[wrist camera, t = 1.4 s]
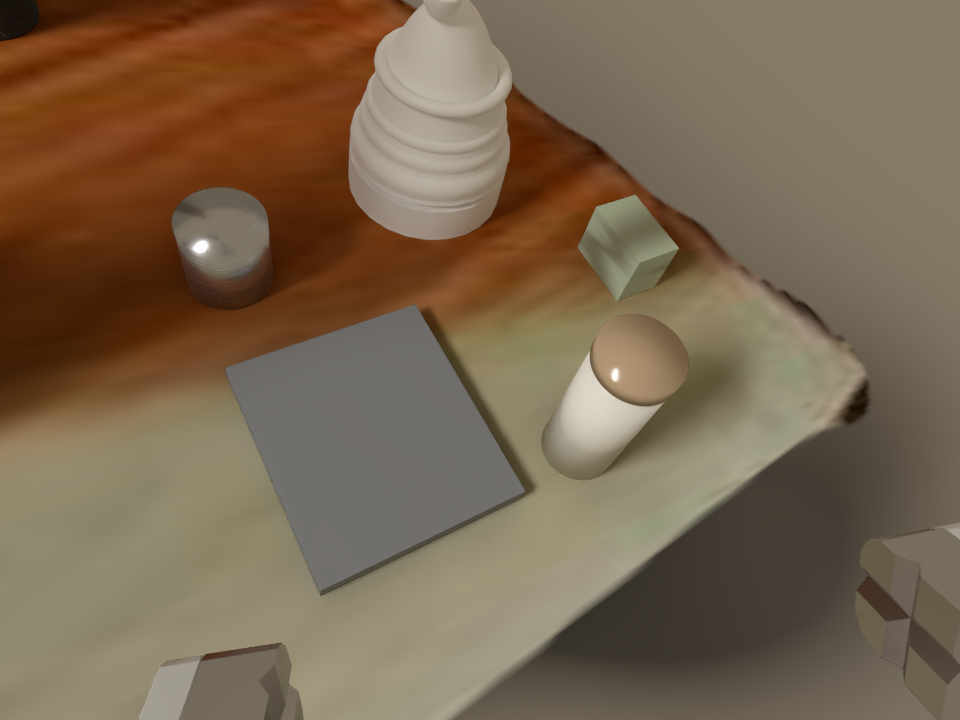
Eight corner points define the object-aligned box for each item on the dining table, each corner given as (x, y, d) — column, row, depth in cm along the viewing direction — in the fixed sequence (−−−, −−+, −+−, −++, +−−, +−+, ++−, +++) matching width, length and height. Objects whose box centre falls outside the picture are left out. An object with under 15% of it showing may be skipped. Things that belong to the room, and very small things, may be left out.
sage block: (577, 248, 59) (596, 206, 55) (614, 235, 61) (635, 194, 57) (616, 301, 57) (639, 262, 53) (654, 287, 58) (679, 248, 54)
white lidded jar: (525, 427, 49) (578, 331, 39) (587, 400, 51) (651, 302, 41) (566, 493, 47) (633, 410, 37) (628, 462, 49) (707, 375, 39)
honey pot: (456, 264, 56) (503, 68, 41) (317, 193, 57) (314, -23, 42) (521, 172, 63) (582, -24, 48) (397, 111, 64) (418, -99, 49)
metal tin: (175, 258, 51) (159, 199, 46) (256, 236, 54) (249, 179, 49) (202, 320, 49) (188, 266, 44) (285, 295, 51) (281, 241, 46)
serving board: (226, 377, 47) (224, 367, 46) (413, 313, 52) (415, 304, 51) (320, 595, 41) (320, 590, 40) (521, 497, 46) (525, 491, 45)
